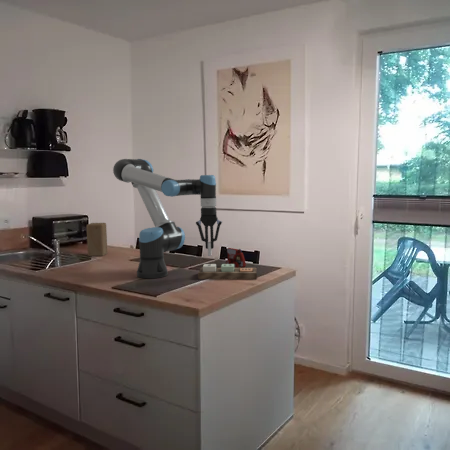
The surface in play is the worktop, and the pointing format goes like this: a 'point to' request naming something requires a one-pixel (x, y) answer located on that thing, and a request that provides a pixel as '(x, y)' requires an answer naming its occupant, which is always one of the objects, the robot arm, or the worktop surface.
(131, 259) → the worktop surface
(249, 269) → the tile
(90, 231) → the wooden block
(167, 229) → the robot arm
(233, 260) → the toy fire truck
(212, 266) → the tile
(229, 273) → the board
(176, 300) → the worktop surface
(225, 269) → the tile
